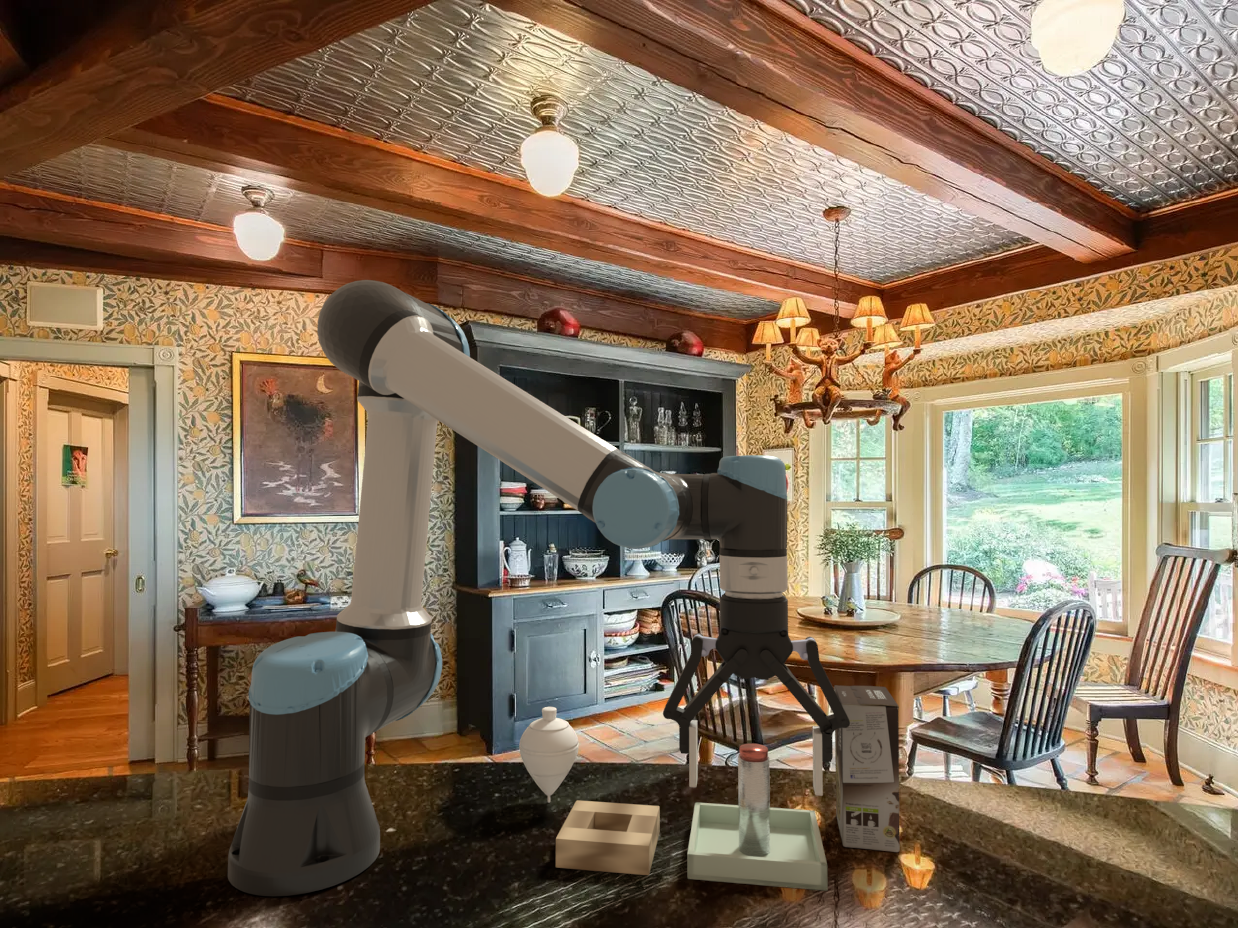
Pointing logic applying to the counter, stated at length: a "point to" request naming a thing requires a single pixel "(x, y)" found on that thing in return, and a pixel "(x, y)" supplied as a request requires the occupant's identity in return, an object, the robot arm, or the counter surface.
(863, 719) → the coffee box
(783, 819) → the tray
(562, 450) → the robot arm
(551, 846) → the counter surface
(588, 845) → the block
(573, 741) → the spinning top
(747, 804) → the pin
